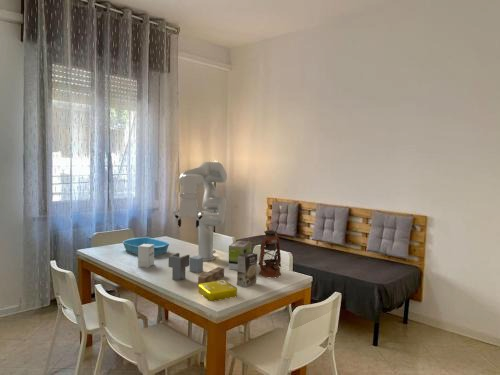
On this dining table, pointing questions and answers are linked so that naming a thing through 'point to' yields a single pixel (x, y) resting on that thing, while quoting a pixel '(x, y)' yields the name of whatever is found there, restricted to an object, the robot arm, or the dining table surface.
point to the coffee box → (247, 269)
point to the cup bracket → (178, 265)
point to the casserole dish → (133, 243)
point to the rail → (211, 275)
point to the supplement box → (145, 255)
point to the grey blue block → (196, 264)
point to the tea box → (237, 252)
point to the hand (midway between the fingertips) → (188, 226)
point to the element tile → (217, 290)
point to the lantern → (271, 264)
